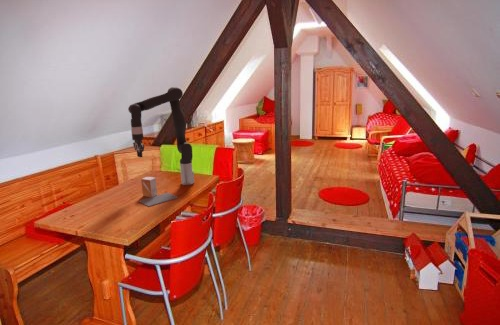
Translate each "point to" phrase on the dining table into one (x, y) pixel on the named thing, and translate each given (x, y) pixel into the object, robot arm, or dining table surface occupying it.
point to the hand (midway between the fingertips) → (140, 156)
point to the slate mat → (158, 199)
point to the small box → (149, 186)
